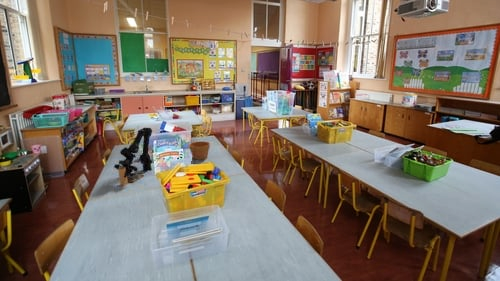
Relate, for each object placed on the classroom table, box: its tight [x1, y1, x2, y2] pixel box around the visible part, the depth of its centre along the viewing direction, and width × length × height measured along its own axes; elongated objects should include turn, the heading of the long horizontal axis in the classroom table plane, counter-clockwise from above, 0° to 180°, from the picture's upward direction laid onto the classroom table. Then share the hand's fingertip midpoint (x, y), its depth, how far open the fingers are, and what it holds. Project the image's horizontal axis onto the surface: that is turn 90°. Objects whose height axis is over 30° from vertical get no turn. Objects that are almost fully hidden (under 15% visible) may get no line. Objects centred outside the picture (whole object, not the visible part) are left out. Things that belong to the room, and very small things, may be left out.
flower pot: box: [188, 141, 211, 161], centre depth 290 cm, size 21×21×15 cm
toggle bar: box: [117, 165, 129, 186], centre depth 228 cm, size 4×4×16 cm
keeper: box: [127, 172, 145, 184], centre depth 240 cm, size 14×11×4 cm
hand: (122, 177), depth 227 cm, fingers closed on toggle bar, 4 cm apart
